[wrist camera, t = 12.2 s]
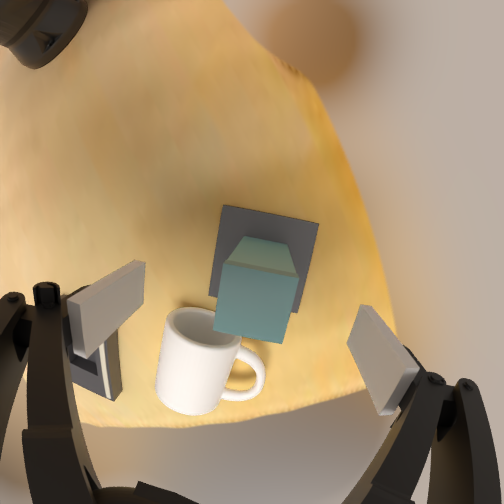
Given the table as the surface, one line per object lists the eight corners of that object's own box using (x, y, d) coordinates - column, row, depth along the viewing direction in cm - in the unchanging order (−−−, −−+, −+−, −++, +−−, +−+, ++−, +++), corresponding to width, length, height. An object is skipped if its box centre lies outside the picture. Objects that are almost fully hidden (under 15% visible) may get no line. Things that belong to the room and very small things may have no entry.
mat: (223, 204, 28) (223, 204, 27) (318, 223, 28) (318, 223, 27) (209, 294, 30) (208, 295, 30) (296, 311, 30) (297, 313, 29)
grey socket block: (63, 294, 32) (50, 301, 29) (116, 314, 32) (104, 324, 28) (73, 368, 35) (63, 378, 32) (122, 390, 34) (113, 402, 31)
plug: (236, 277, 29) (212, 330, 17) (243, 235, 28) (223, 263, 16) (278, 285, 29) (282, 344, 17) (287, 243, 28) (299, 278, 16)
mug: (167, 363, 33) (144, 400, 25) (180, 298, 30) (154, 329, 23) (253, 391, 32) (248, 434, 25) (279, 330, 30) (280, 371, 23)
